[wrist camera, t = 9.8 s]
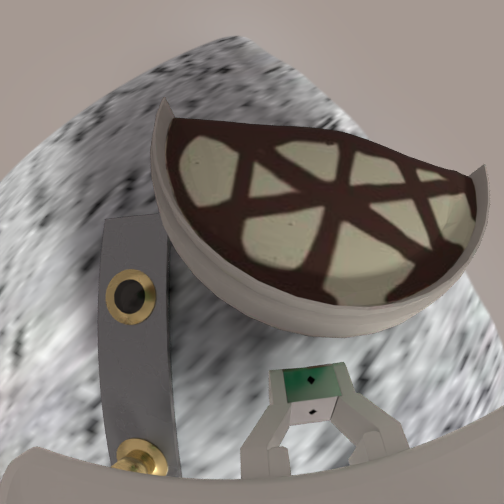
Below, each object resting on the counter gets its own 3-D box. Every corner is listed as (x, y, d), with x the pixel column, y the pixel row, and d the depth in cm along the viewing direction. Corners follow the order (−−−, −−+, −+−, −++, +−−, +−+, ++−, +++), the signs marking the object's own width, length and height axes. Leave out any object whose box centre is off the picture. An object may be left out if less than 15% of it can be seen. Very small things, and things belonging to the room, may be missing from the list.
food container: (174, 317, 16) (75, 283, 6) (197, 217, 18) (148, 97, 8) (385, 349, 15) (511, 345, 6) (392, 250, 17) (495, 168, 7)
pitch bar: (127, 511, 12) (105, 536, 8) (108, 222, 18) (82, 198, 14) (190, 521, 12) (178, 551, 8) (170, 216, 18) (153, 189, 14)
